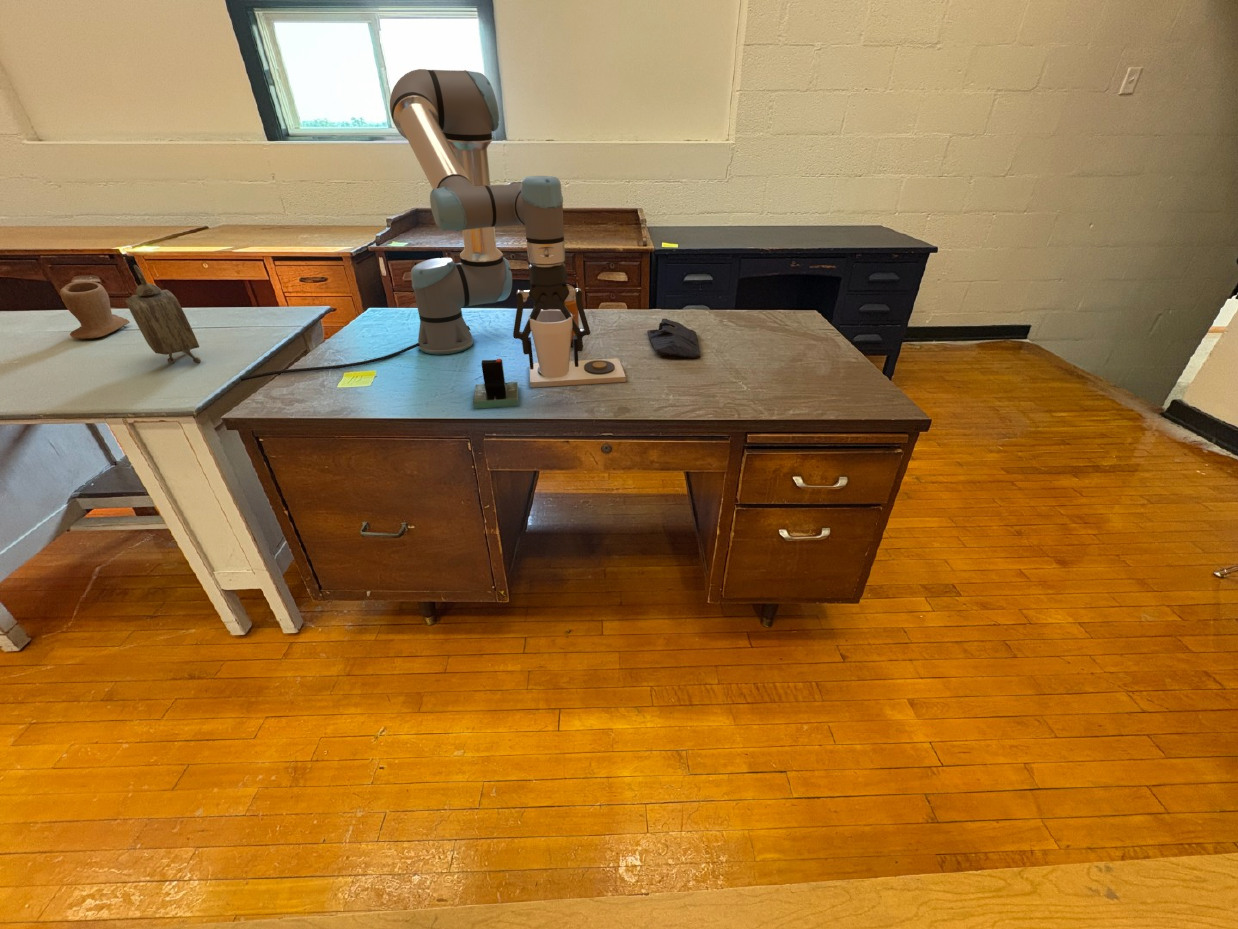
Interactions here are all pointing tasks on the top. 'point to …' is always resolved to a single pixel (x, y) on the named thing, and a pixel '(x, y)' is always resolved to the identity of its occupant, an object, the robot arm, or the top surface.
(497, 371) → the tall black monolith
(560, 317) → the foam cup
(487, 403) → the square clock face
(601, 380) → the hob
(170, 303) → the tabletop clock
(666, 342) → the dark grey folded cloth
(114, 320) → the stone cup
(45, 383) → the top surface
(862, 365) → the top surface
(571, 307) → the canister
